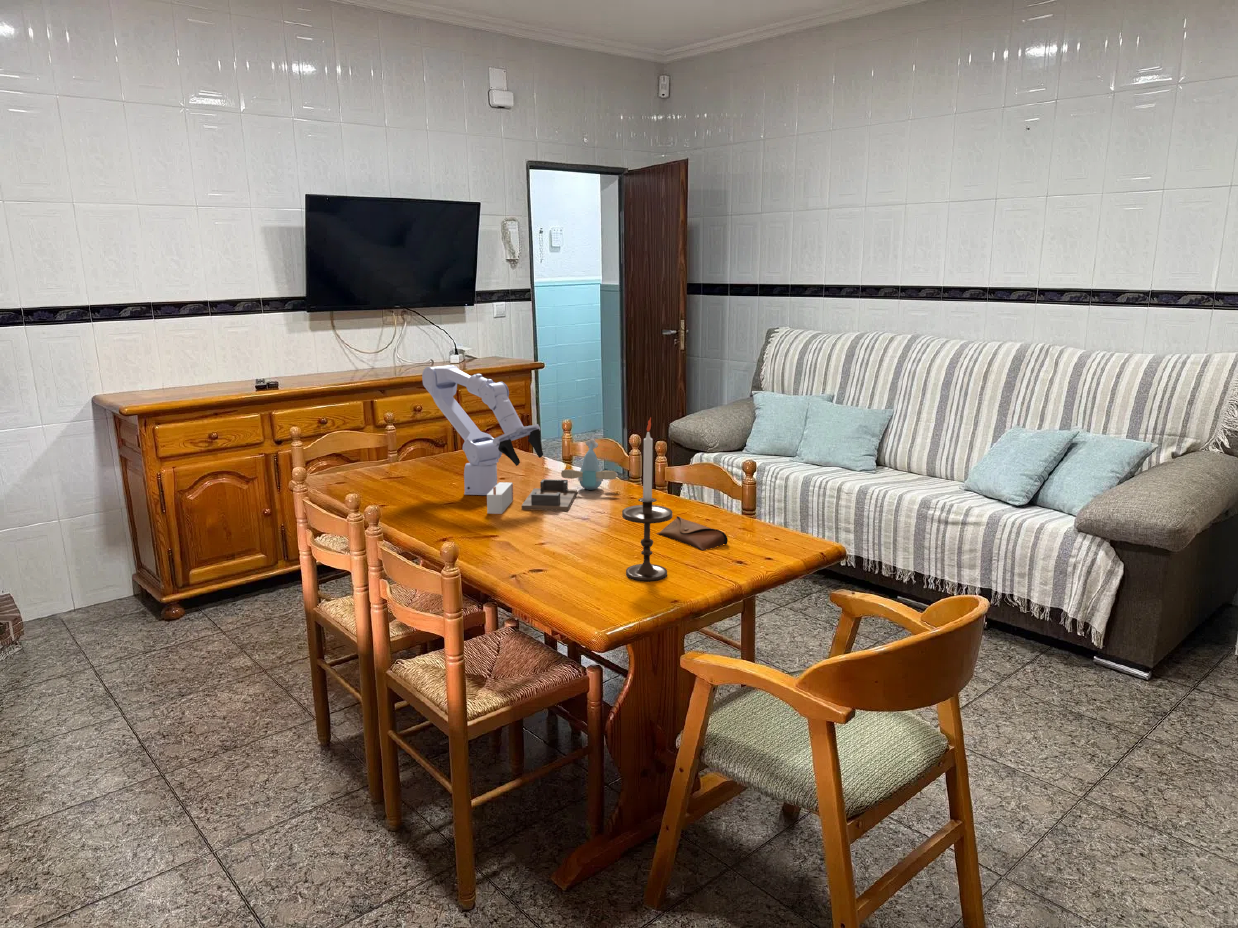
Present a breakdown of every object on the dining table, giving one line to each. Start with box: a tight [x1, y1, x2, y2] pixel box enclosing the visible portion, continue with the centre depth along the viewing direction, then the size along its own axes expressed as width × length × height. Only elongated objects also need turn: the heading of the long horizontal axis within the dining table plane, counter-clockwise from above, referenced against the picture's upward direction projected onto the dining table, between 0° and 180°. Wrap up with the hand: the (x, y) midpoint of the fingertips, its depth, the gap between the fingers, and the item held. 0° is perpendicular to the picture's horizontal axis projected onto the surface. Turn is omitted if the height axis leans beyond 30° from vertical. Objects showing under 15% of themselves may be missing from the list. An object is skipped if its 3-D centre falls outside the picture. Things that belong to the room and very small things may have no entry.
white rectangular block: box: [486, 481, 514, 515], centre depth 241 cm, size 14×4×8 cm, turn 174°
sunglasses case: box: [656, 516, 728, 551], centre depth 214 cm, size 18×7×7 cm
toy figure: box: [560, 438, 619, 491], centre depth 260 cm, size 17×10×15 cm, turn 84°
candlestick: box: [621, 417, 673, 583], centre depth 185 cm, size 11×11×35 cm
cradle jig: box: [521, 478, 578, 512], centre depth 247 cm, size 19×13×4 cm
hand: (529, 460), depth 242 cm, fingers open, 7 cm apart
